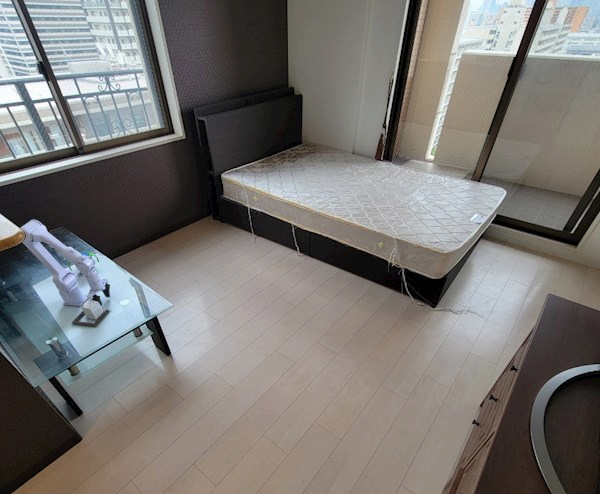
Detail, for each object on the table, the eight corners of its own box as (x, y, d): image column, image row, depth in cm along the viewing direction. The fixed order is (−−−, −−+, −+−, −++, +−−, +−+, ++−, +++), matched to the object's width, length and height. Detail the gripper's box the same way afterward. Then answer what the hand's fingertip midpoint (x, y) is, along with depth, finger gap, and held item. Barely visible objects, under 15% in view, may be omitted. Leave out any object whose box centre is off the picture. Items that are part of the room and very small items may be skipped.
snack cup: (100, 262, 207) (93, 248, 200) (103, 271, 201) (96, 256, 194) (71, 270, 201) (63, 255, 194) (74, 279, 194) (66, 264, 187)
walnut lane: (72, 324, 167) (71, 322, 166) (87, 308, 176) (86, 307, 175) (95, 327, 166) (94, 325, 165) (109, 311, 174) (108, 309, 173)
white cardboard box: (104, 312, 174) (99, 301, 169) (96, 320, 169) (90, 309, 164) (95, 310, 175) (89, 299, 170) (86, 317, 171) (79, 306, 166)
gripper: (92, 289, 164) (103, 310, 173) (109, 272, 174) (118, 293, 183) (78, 288, 164) (90, 309, 174) (96, 271, 175) (106, 292, 184)
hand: (104, 301), depth 179 cm, fingers open, 6 cm apart
